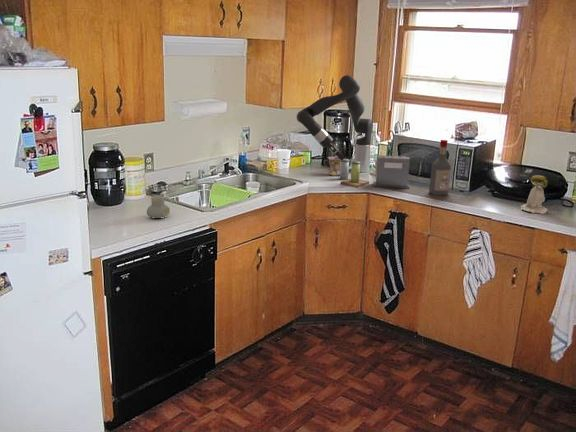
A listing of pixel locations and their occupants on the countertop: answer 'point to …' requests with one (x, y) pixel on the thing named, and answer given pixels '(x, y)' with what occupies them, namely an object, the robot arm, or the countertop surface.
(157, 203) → the grey brown bulbous piece
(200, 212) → the countertop surface
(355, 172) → the green cartridge
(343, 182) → the pad
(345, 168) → the cylinder
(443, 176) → the liquor
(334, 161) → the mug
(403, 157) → the box
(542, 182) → the beige tapered lump
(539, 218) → the countertop surface
